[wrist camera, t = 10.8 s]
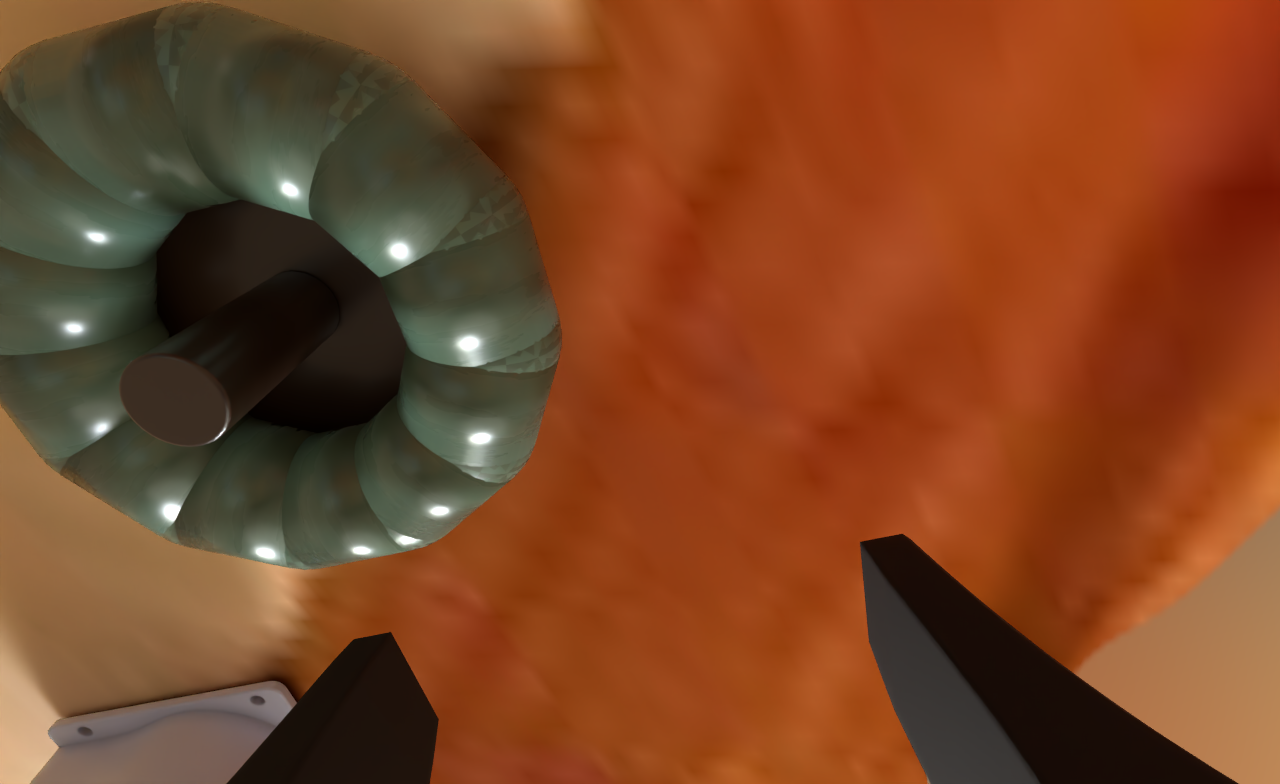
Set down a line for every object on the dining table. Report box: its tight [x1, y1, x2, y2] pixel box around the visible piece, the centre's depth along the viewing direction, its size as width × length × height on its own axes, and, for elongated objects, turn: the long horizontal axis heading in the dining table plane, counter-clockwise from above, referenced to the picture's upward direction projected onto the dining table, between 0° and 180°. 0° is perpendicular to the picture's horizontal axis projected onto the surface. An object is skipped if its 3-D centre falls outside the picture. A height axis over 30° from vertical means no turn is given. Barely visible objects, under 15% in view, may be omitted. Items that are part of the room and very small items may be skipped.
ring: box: [0, 2, 562, 570], centre depth 16 cm, size 13×13×4 cm
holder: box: [119, 199, 406, 447], centre depth 15 cm, size 9×9×6 cm
